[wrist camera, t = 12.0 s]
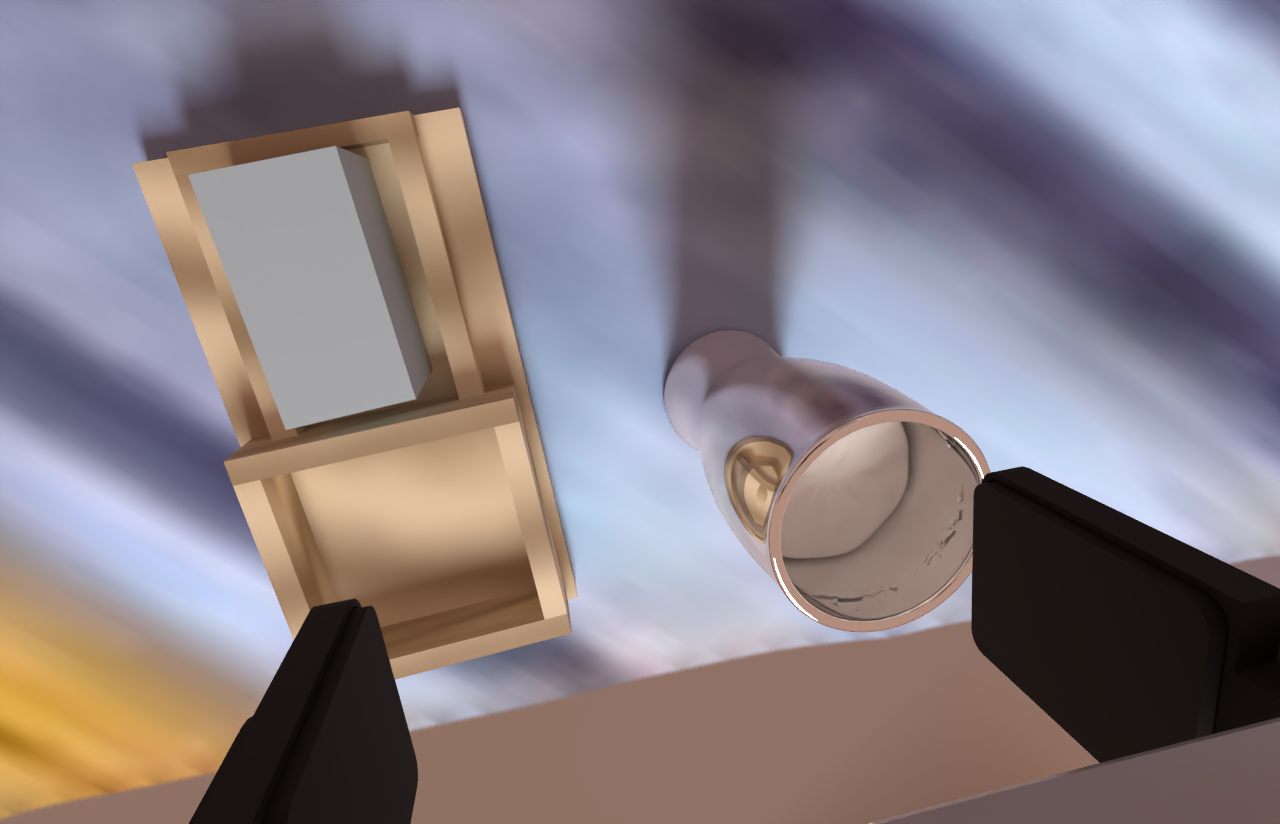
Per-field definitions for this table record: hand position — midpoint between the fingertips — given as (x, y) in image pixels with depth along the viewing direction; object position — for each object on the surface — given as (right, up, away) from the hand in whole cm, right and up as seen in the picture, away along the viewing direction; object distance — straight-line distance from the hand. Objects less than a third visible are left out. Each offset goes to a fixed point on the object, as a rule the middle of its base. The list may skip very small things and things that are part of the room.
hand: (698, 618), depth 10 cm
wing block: (-13, +8, +17) cm, 23 cm away
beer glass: (+3, +4, +22) cm, 23 cm away
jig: (-12, +4, +20) cm, 23 cm away
